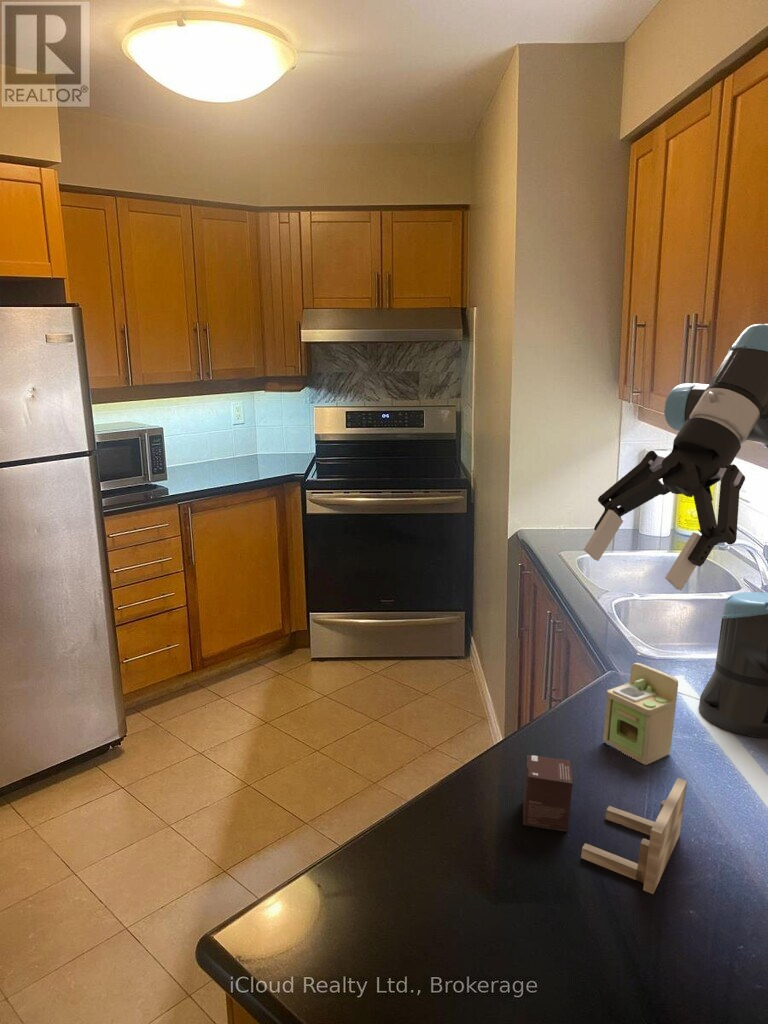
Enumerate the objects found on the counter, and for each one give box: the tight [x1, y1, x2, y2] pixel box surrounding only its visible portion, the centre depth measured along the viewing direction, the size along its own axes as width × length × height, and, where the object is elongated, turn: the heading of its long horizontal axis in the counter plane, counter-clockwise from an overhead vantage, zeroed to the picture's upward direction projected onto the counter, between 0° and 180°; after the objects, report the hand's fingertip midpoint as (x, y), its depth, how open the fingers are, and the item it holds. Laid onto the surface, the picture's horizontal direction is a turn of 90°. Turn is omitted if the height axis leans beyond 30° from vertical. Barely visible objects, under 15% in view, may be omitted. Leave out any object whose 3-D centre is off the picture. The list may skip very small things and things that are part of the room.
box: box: [522, 754, 574, 832], centre depth 102 cm, size 6×6×7 cm
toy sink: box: [602, 662, 679, 766], centre depth 121 cm, size 9×7×13 cm
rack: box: [580, 777, 688, 895], centre depth 95 cm, size 14×9×8 cm, turn 147°
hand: (629, 569), depth 94 cm, fingers open, 13 cm apart
